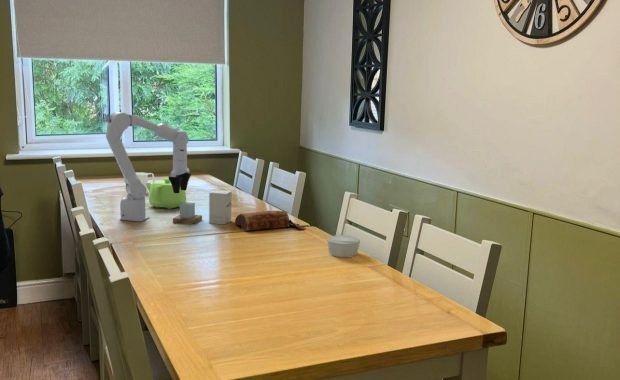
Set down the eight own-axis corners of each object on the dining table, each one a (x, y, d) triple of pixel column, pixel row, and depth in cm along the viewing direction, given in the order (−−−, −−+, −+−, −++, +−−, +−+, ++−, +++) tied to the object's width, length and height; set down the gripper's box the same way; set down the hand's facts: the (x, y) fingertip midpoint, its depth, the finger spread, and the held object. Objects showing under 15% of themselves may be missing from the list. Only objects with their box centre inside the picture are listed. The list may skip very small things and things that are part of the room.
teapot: (133, 207, 266) (132, 179, 264) (160, 200, 285) (160, 173, 282) (167, 212, 259) (167, 182, 257) (193, 204, 278) (193, 177, 276)
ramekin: (336, 260, 194) (337, 244, 193) (320, 251, 204) (321, 236, 203) (365, 256, 199) (366, 241, 199) (348, 248, 209) (349, 234, 208)
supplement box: (226, 224, 239) (226, 193, 237) (208, 223, 241) (208, 192, 239) (232, 220, 246) (232, 190, 244) (215, 219, 248) (215, 189, 246)
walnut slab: (172, 224, 239) (172, 218, 239) (181, 219, 248) (181, 213, 248) (194, 225, 238) (194, 219, 237) (202, 221, 247) (202, 215, 246)
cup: (157, 193, 303) (156, 173, 301) (133, 194, 297) (133, 175, 295) (152, 190, 310) (152, 171, 308) (129, 192, 304) (128, 172, 302)
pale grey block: (179, 217, 241) (179, 204, 240) (184, 215, 245) (184, 202, 244) (189, 218, 240) (189, 205, 239) (194, 216, 244) (194, 203, 243)
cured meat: (310, 230, 235) (310, 213, 234) (251, 235, 224) (251, 217, 223) (290, 221, 251) (290, 205, 250) (234, 226, 240) (234, 209, 239)
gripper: (182, 162, 241) (182, 195, 243) (195, 158, 255) (195, 189, 257) (165, 161, 242) (166, 194, 245) (180, 157, 256) (180, 188, 259)
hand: (180, 191), depth 251 cm, fingers open, 7 cm apart
